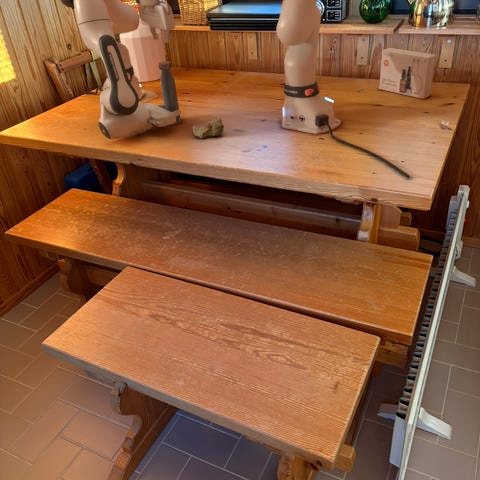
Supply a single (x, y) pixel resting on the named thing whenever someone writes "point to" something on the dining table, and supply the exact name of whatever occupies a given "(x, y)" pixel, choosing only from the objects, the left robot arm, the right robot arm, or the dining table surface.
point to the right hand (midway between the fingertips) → (160, 41)
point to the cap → (164, 65)
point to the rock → (209, 128)
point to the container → (144, 52)
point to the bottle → (169, 93)
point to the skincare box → (407, 72)
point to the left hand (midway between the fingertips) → (173, 108)
